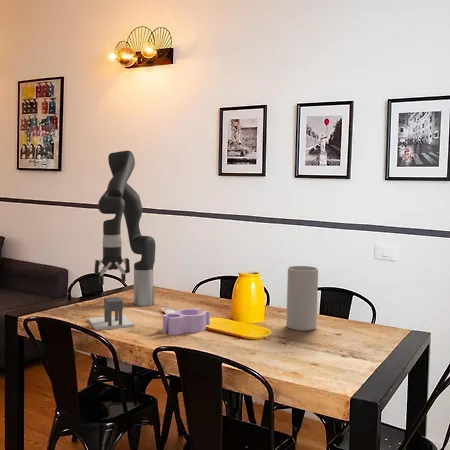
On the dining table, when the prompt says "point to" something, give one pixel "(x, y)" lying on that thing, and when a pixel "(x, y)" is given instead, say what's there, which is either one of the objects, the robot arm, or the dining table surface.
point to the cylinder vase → (302, 298)
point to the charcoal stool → (113, 309)
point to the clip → (185, 321)
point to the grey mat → (101, 324)
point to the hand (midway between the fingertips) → (112, 283)
